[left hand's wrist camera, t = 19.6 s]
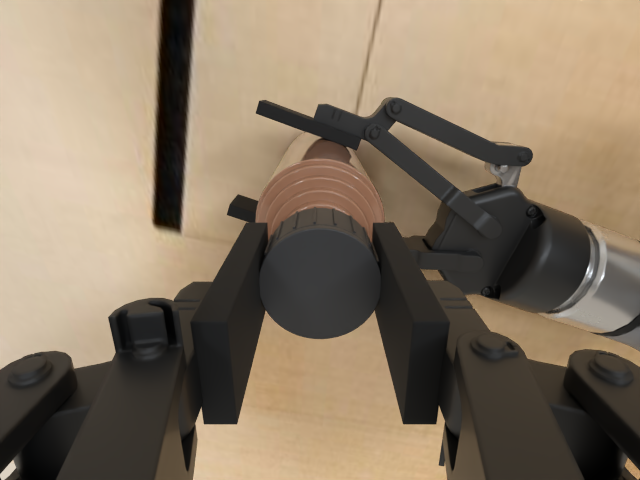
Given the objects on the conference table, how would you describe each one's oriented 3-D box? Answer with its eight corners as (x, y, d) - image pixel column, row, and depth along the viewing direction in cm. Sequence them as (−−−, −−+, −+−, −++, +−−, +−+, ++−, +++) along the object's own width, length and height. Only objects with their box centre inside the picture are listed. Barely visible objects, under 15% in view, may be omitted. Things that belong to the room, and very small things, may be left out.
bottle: (368, 181, 33) (439, 312, 13) (305, 213, 34) (284, 377, 14) (336, 115, 31) (363, 153, 11) (270, 150, 32) (192, 241, 12)
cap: (247, 278, 15) (235, 309, 12) (296, 185, 13) (291, 203, 11) (340, 321, 15) (343, 358, 13) (394, 236, 14) (408, 262, 12)
